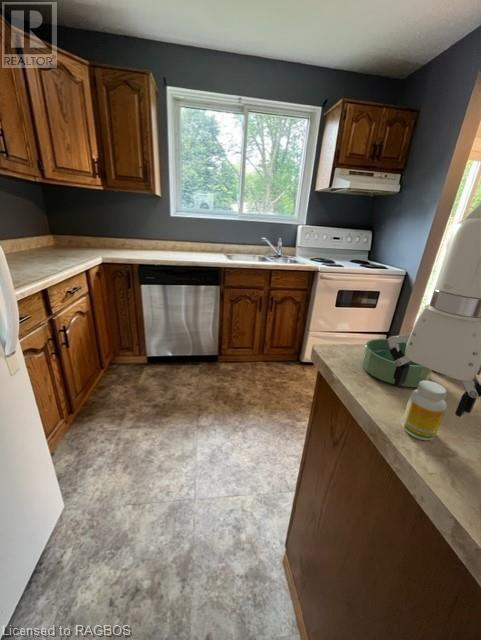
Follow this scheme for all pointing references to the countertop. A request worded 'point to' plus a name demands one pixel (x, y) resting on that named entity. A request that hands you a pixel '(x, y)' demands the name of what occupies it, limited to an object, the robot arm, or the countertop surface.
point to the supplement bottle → (424, 410)
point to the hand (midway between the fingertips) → (427, 397)
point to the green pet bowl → (390, 364)
